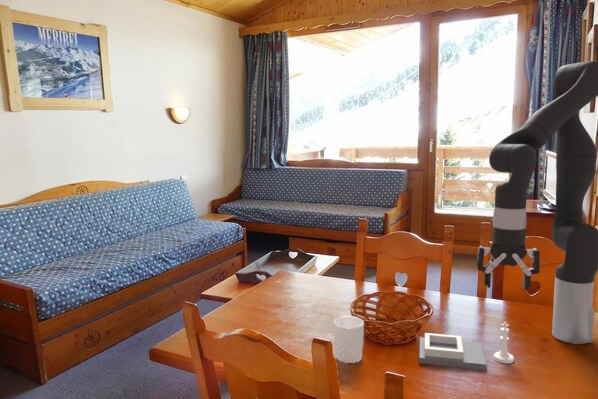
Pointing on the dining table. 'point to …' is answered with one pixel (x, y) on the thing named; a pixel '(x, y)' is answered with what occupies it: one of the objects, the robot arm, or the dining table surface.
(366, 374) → the dining table surface
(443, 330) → the dining table surface
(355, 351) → the white cup
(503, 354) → the chess piece
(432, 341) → the socket board
